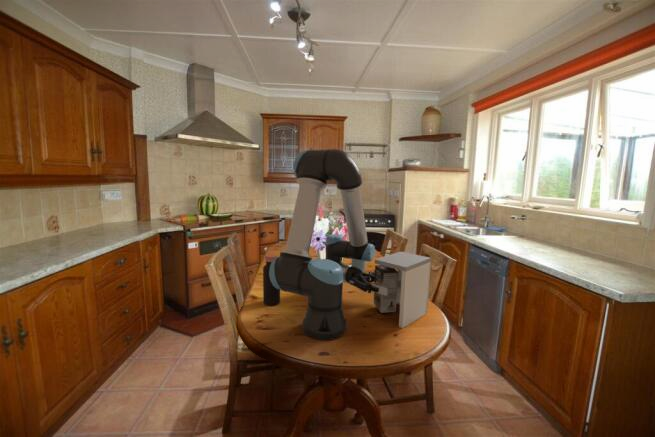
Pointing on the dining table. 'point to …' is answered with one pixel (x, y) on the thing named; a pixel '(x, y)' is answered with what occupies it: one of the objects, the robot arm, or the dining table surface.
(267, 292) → the bottle
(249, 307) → the dining table surface
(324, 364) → the dining table surface
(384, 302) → the coffee box
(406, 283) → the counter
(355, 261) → the cup
